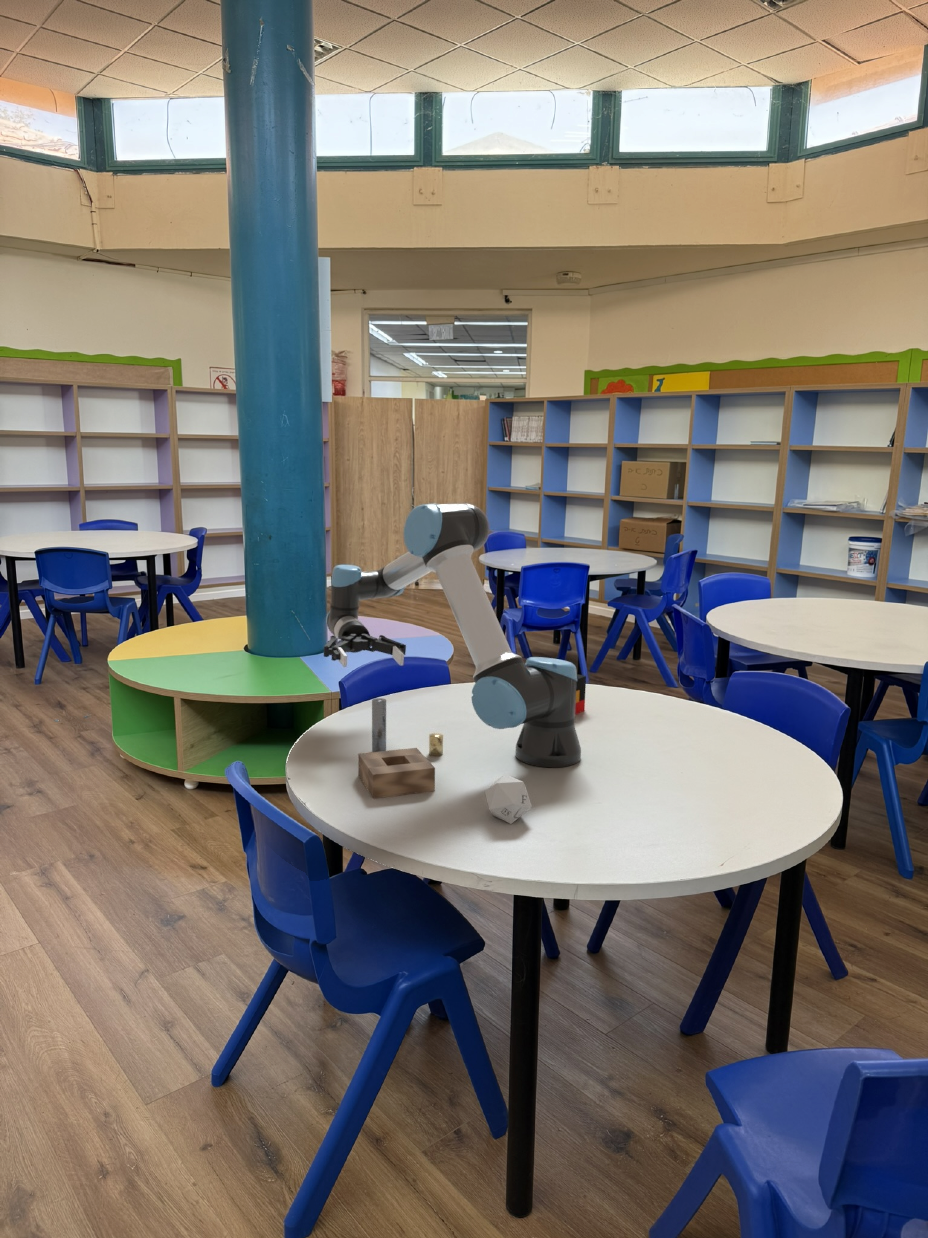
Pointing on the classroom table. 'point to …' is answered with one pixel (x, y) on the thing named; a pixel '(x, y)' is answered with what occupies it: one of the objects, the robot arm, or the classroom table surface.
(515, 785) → the die
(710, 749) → the classroom table surface
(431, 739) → the short brass pin
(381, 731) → the long metal pin
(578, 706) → the puzzle toy
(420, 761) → the hole block
